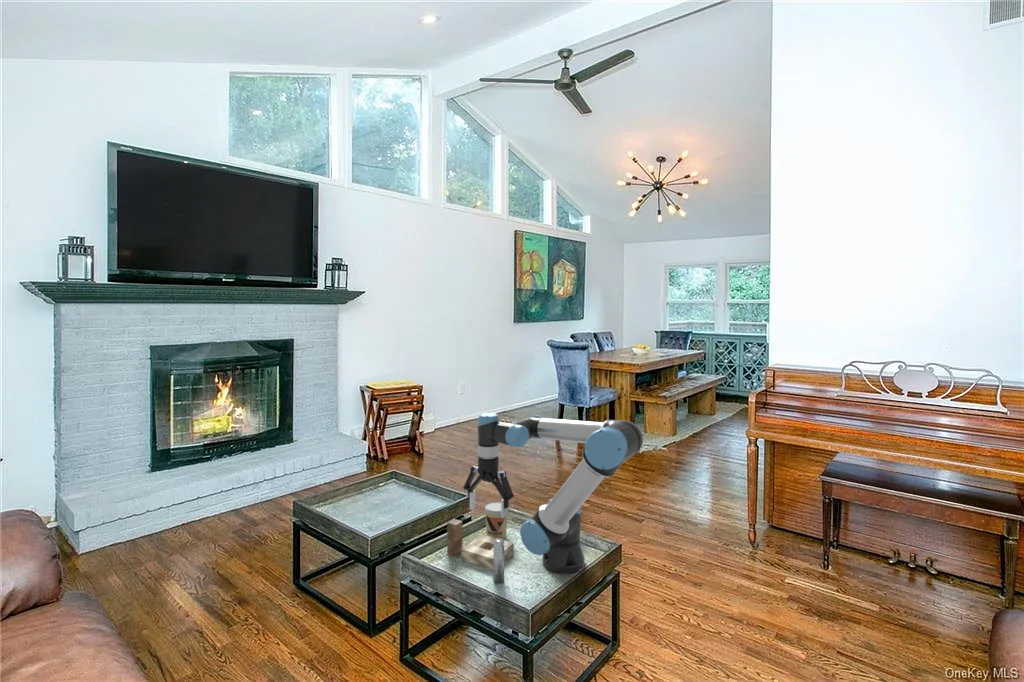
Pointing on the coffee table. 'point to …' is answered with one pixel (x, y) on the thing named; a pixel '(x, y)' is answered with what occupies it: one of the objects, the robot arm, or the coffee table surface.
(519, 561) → the coffee table surface
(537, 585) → the coffee table surface
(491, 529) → the coffee cup
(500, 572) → the round peg
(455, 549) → the square peg
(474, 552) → the bore block
